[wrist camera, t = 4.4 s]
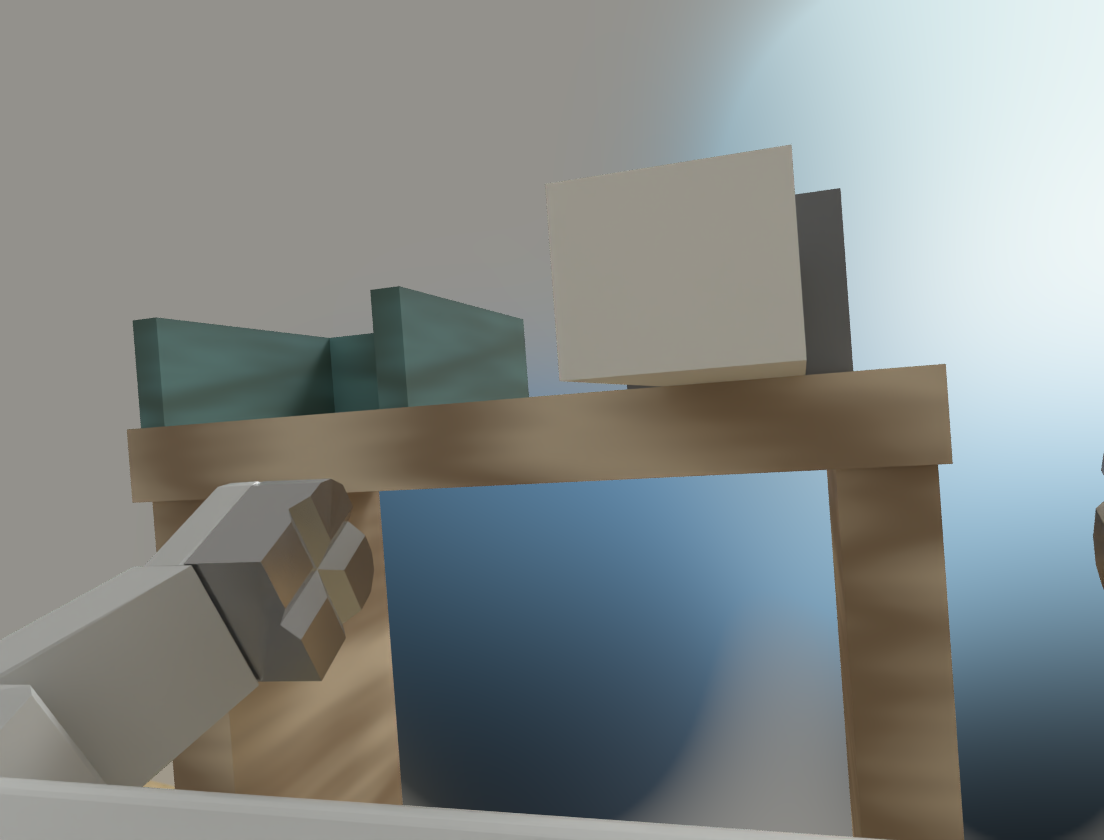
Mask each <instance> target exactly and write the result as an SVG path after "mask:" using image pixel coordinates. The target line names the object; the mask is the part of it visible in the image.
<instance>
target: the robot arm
mask: <svg viewBox="0 0 1104 840" xmlns="http://www.w3.org/2000/svg"><path fill="white" fill-rule="evenodd" d="M1101 471H1102V473H1103V475H1104V456H1103V462H1102V468H1101ZM352 509H353V505H352V503H351V501H350V499H349V496H348V494H347V492H346V490H345V488H344V486H343V485H342V484H341V483H339V482H337V481H335V480H333V479H309V480H282V481H263V482H258V481H254V482H240V483H230V484H226V485H223V486H219V487H217V488H216V489H215V490H214V491H213V492H212V494H211V495H210V496H209V497H208V498H207V499H206V500H205V501H204V502H203V503H202V504H201V505H200V506H199V508H198V509H197V510H196V511H195V512H194V513H193V514H192V515H191V516H190V517H189V518H188V519H187V520H186V522H185V523H184V524H183V525H182V526H181V527H180V528H179V529H178V530H177V531H176V532H175V533H174V534H173V536H172V537H171V538H170V539H169V540H168V541H167V542H166V543H165V544H164V545H163V546H162V547H161V548H160V550H159V551H158V552H157V553H156V554H155V555H154V556H153V557H152V558H151V559H150V560H149V562H148V563H147V564H146V565H145V566H140V567H132V568H130V569H128V570H127V571H125V572H123V573H121V574H119V575H117V576H116V577H114V578H112V579H111V580H108V581H107V582H105V583H103V584H101V585H99V586H97V587H96V588H94V589H92V590H90V591H88V592H87V593H85V594H83V595H81V596H79V597H77V598H76V599H74V600H72V601H70V602H69V603H67V604H65V605H63V606H61V607H59V608H58V609H56V610H54V611H52V612H50V613H48V614H47V615H45V616H43V617H41V618H39V619H37V620H36V621H34V622H32V623H31V624H28V625H26V626H25V627H23V628H21V629H19V630H17V631H16V632H14V633H12V634H10V635H8V636H7V637H5V638H3V639H1V640H0V840H887V839H873V838H859V837H844V836H831V835H816V834H802V833H788V832H774V831H760V830H745V829H731V828H717V827H703V826H689V825H675V824H674V825H673V824H661V823H647V822H631V821H618V820H603V819H589V818H574V817H561V816H546V815H533V814H519V813H503V812H490V811H476V810H462V809H447V808H433V807H419V806H405V805H391V804H377V803H362V802H348V801H334V800H320V799H305V798H291V797H277V796H263V795H249V794H234V793H220V792H206V791H192V790H177V789H163V788H149V787H143V786H144V785H145V784H146V783H147V782H149V781H150V780H151V779H152V778H153V777H154V776H155V775H157V774H158V773H159V772H160V771H161V770H162V769H163V768H165V767H166V766H167V765H168V764H169V763H170V762H171V761H173V760H174V759H175V758H176V757H177V756H178V755H180V754H181V753H182V752H183V751H184V750H185V749H186V748H188V747H189V746H190V745H191V744H192V743H193V742H194V741H196V740H197V739H198V738H199V737H200V736H201V735H203V734H204V733H205V732H206V731H207V730H208V729H209V728H211V727H212V726H213V725H214V724H215V723H216V722H217V721H219V720H220V719H221V718H222V717H223V716H224V715H225V714H227V713H228V712H229V711H230V710H231V709H232V708H234V707H235V706H236V705H237V704H238V703H239V702H240V701H242V700H243V699H244V698H245V697H246V696H247V695H248V694H250V693H251V692H252V691H253V690H254V689H255V688H256V687H258V686H259V683H258V682H280V681H322V680H323V678H324V676H325V674H326V673H327V671H328V669H329V667H330V666H331V664H332V662H333V660H334V659H335V657H336V655H337V653H338V651H339V650H340V648H341V646H342V644H343V643H344V641H345V639H346V636H345V632H344V628H343V623H345V622H346V621H347V620H349V619H350V618H352V617H353V616H354V615H356V614H357V613H358V612H360V611H361V610H362V608H363V606H364V605H365V603H366V601H367V599H368V597H369V595H370V593H371V588H372V582H373V575H374V563H373V557H372V551H371V548H370V546H369V543H368V541H367V538H366V536H365V535H364V534H363V533H362V532H361V531H359V530H358V529H357V528H356V527H355V526H353V525H352V524H351V523H350V522H349V521H348V520H349V517H350V515H351V512H352ZM1093 540H1094V550H1095V561H1096V566H1097V570H1098V573H1099V577H1100V580H1101V583H1102V586H1103V589H1104V502H1102V503H1101V504H1100V505H1099V506H1098V507H1097V508H1096V513H1095V523H1094V533H1093Z"/></svg>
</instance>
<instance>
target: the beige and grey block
mask: <svg viewBox="0 0 1104 840" xmlns="http://www.w3.org/2000/svg"><path fill="white" fill-rule="evenodd" d="M545 189H546V203H547V216H548V230H549V244H550V257H551V271H552V284H553V298H554V311H555V325H556V339H557V353H558V366H559V380H560V381H568V382H587V383H605V384H606V383H607V384H624V385H625V384H626V385H627V389H639V388H652V387H664V386H677V385H689V384H702V383H714V382H726V381H739V380H751V379H764V378H776V377H789V376H801V375H814V374H826V373H839V372H851V371H853V361H852V347H851V334H850V319H849V305H848V291H847V278H846V262H845V249H844V234H843V220H842V206H841V191H840V188H839V189H831V190H824V191H817V192H810V193H803V194H796V195H795V191H794V190H795V189H794V175H793V161H792V147H791V145H786V146H780V147H774V148H767V149H762V150H755V151H749V152H743V153H736V154H730V155H723V156H717V157H711V158H705V159H698V160H692V161H686V162H680V163H674V164H667V165H661V166H655V167H648V168H642V169H636V170H630V171H623V172H618V173H612V174H605V175H598V176H593V177H586V178H580V179H574V180H568V181H561V182H555V183H548V184H545Z"/></svg>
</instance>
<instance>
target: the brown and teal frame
mask: <svg viewBox="0 0 1104 840" xmlns="http://www.w3.org/2000/svg"><path fill="white" fill-rule="evenodd" d="M371 305H372V317H373V331H374V333H371V334H361V335H353V336H343V337H336V338H335V337H334V338H324V337H316V336H308V335H299V334H290V333H281V332H274V331H265V330H256V329H249V328H240V327H232V326H223V325H214V324H206V323H198V322H189V321H180V320H172V319H164V318H149V319H142V320H134V321H133V331H134V344H135V355H136V369H137V381H138V393H139V394H138V395H139V407H140V419H141V428H140V429H128V430H127V437H128V448H129V449H128V450H129V462H130V475H131V488H132V500H133V503H136V502H153V513H154V526H155V539H156V551H157V552H158V551H159V550H160V548H161V547H162V546H163V545H164V544H165V543H166V542H167V541H168V540H169V539H170V538H171V537H172V536H173V534H174V533H175V532H176V531H177V530H178V529H179V528H180V527H181V526H182V525H183V524H184V523H185V522H186V520H187V519H188V518H189V517H190V516H191V515H192V514H193V513H194V512H195V511H196V510H197V509H198V508H199V506H200V505H201V504H202V503H203V502H204V501H205V500H206V499H207V498H208V497H209V496H210V495H211V494H212V492H213V491H214V490H215V489H216V488H217V487H219V486H223V485H226V484H230V483H240V482H254V481H258V482H263V481H282V480H309V479H333V480H335V481H337V482H339V483H341V484H342V485H343V486H344V488H345V490H346V492H347V494H348V496H349V499H350V501H351V503H352V505H353V509H352V512H351V515H350V517H349V520H348V521H349V522H350V523H351V524H352V525H353V526H355V527H356V528H357V529H358V530H359V531H361V532H362V533H363V534H364V535H365V536H366V538H367V541H368V543H369V546H370V548H371V551H372V557H373V563H374V575H373V582H372V588H371V593H370V595H369V597H368V599H367V601H366V603H365V605H364V606H363V608H362V610H361V611H360V612H358V613H357V614H356V615H354V616H353V617H352V618H350V619H349V620H347V621H346V622H345V623H343V628H344V632H345V636H346V639H345V641H344V643H343V644H342V646H341V648H340V650H339V651H338V653H337V655H336V657H335V659H334V660H333V662H332V664H331V666H330V667H329V669H328V671H327V673H326V674H325V676H324V678H323V680H322V681H280V682H258V683H259V686H258V687H256V688H255V689H254V690H253V691H252V692H251V693H250V694H248V695H247V696H246V697H245V698H244V699H243V700H242V701H240V702H239V703H238V704H237V705H236V706H235V707H234V708H232V709H231V710H230V711H229V712H228V713H227V714H225V715H224V716H223V717H222V718H221V719H220V720H219V721H217V722H216V723H215V724H214V725H213V726H212V727H211V728H209V729H208V730H207V731H206V732H205V733H204V734H203V735H201V736H200V737H199V738H198V739H197V740H196V741H194V742H193V743H192V744H191V745H190V746H189V747H188V748H186V749H185V750H184V751H183V752H182V753H181V754H180V755H178V756H177V757H176V758H175V759H174V760H173V769H174V782H175V789H177V790H192V791H206V792H220V793H234V794H249V795H263V796H277V797H291V798H305V799H320V800H334V801H348V802H362V803H377V804H391V805H403V804H402V791H401V777H400V764H399V751H398V738H397V726H396V713H395V698H394V685H393V673H392V658H391V646H390V632H389V619H388V606H387V594H386V593H387V592H386V581H385V566H384V553H383V540H382V527H381V515H380V514H381V513H380V500H379V491H389V490H410V489H428V488H429V489H430V488H452V487H473V486H492V485H493V486H494V485H514V484H515V485H516V484H536V483H557V482H578V481H598V480H599V481H600V480H619V479H642V478H663V477H684V476H705V475H724V474H725V475H726V474H747V473H768V472H789V471H811V470H827V477H828V491H829V506H830V520H831V533H832V548H833V563H834V577H835V589H836V590H835V591H836V605H837V619H838V632H839V647H840V661H841V676H842V690H843V703H844V717H845V732H846V745H847V760H848V774H849V789H850V801H851V802H850V803H851V816H852V831H853V837H859V838H873V839H887V840H964V832H963V819H962V805H961V804H962V803H961V789H960V777H959V776H960V775H959V761H958V748H957V747H958V746H957V733H956V718H955V703H954V690H953V674H952V660H951V645H950V631H949V618H948V603H947V588H946V573H945V559H944V546H943V530H942V519H941V518H942V516H941V502H940V487H939V473H938V464H952V463H953V462H952V448H951V434H950V419H949V405H948V390H947V378H946V377H947V376H946V364H939V365H926V366H914V367H901V368H890V369H876V370H865V371H851V372H839V373H826V374H814V375H801V376H789V377H776V378H764V379H751V380H739V381H726V382H714V383H702V384H689V385H677V386H664V387H652V388H639V389H627V390H614V391H602V392H589V393H577V394H564V395H552V396H539V397H529V392H528V380H527V366H526V353H525V338H524V325H523V319H520V318H516V317H512V316H509V315H505V314H501V313H497V312H494V311H490V310H486V309H482V308H478V307H475V306H471V305H467V304H463V303H460V302H456V301H452V300H448V299H445V298H441V297H437V296H433V295H429V294H426V293H422V292H418V291H414V290H411V289H407V288H403V287H400V286H398V287H391V288H382V289H375V290H371Z"/></svg>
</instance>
